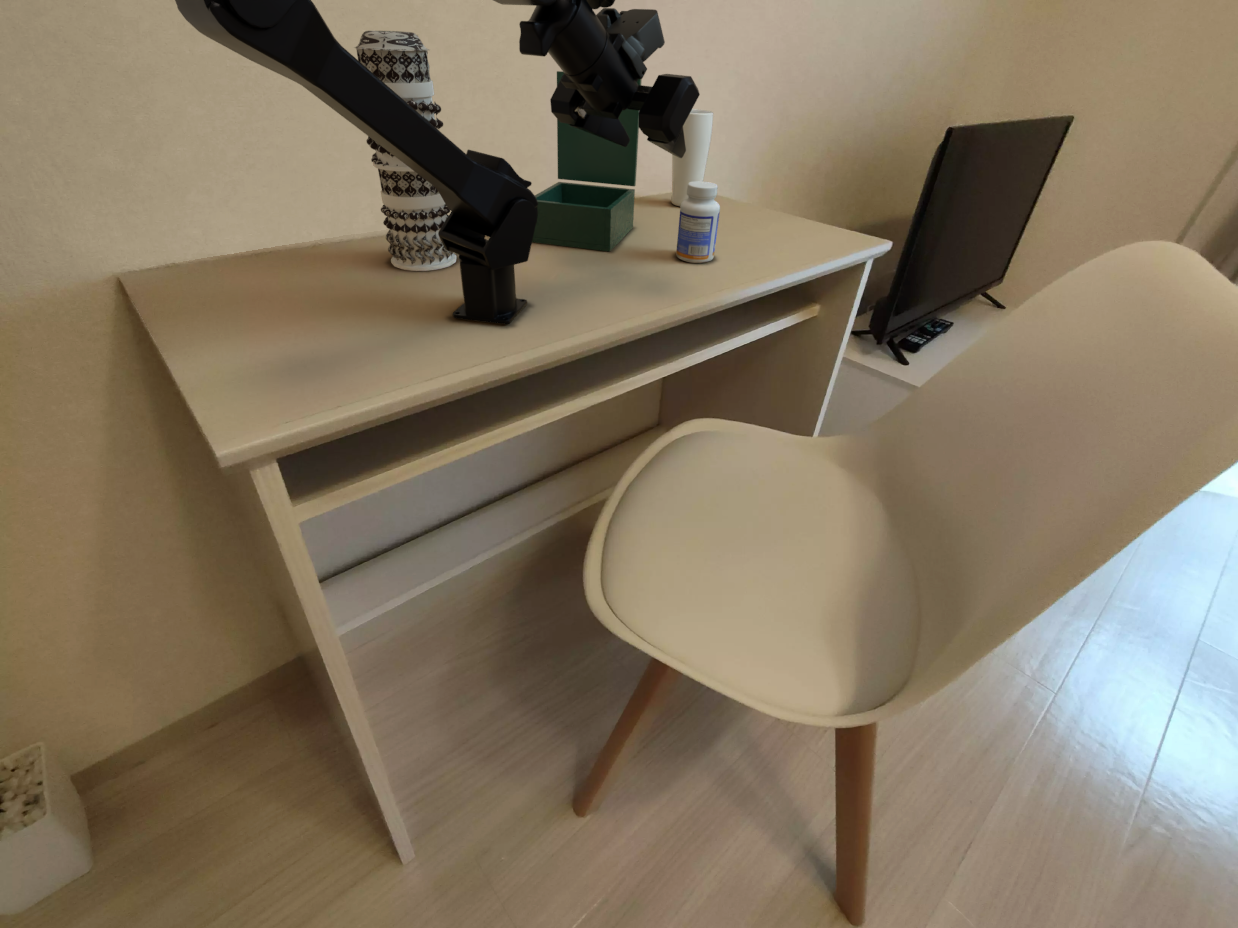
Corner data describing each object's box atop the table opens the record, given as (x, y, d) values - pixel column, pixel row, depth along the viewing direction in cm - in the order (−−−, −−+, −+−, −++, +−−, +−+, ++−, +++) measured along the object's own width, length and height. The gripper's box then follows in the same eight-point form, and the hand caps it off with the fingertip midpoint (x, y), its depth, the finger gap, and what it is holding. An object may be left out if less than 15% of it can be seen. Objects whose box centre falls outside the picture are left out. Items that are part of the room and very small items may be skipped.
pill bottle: (689, 249, 90) (696, 178, 84) (720, 257, 87) (730, 184, 81) (668, 257, 86) (674, 183, 81) (700, 266, 84) (708, 190, 78)
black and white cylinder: (372, 264, 79) (324, 29, 65) (420, 246, 86) (387, 30, 72) (428, 276, 76) (391, 33, 62) (473, 257, 83) (449, 33, 69)
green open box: (609, 251, 87) (610, 209, 84) (528, 241, 90) (525, 200, 86) (633, 227, 98) (634, 189, 95) (559, 219, 101) (558, 181, 97)
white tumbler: (660, 201, 113) (667, 109, 104) (691, 199, 116) (700, 108, 107) (678, 210, 108) (686, 114, 100) (710, 207, 111) (721, 113, 102)
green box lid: (640, 76, 86) (647, 76, 90) (556, 71, 89) (566, 71, 92) (634, 186, 94) (641, 182, 98) (557, 179, 97) (566, 175, 100)
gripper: (693, -24, 56) (749, 96, 69) (560, -23, 67) (630, 82, 80) (635, 86, 57) (701, 185, 70) (513, 71, 67) (590, 159, 80)
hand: (654, 149), depth 75 cm, fingers open, 9 cm apart
